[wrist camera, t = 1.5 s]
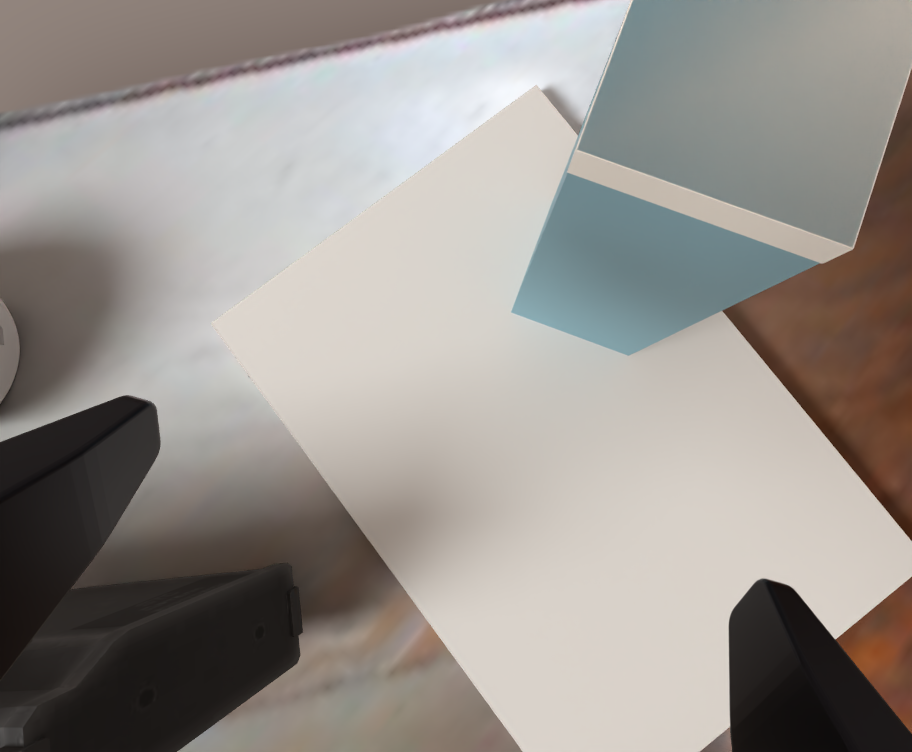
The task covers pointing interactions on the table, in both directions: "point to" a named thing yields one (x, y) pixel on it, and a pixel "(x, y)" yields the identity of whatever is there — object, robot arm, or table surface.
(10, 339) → the die
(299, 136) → the table surface
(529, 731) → the cream rectangular board
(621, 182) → the teal block
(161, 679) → the magazine
